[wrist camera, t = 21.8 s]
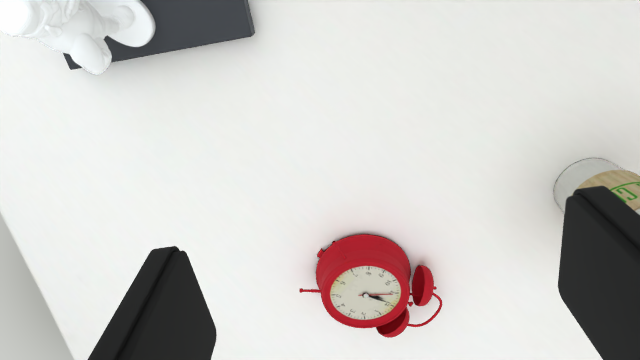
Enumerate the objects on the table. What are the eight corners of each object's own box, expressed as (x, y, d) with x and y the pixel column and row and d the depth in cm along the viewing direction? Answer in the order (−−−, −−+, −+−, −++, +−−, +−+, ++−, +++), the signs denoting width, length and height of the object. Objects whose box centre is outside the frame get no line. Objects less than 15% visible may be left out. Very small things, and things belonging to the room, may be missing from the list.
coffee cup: (623, 121, 41) (767, 204, 28) (648, 200, 45) (785, 305, 31) (520, 171, 43) (607, 269, 30) (553, 241, 47) (642, 356, 34)
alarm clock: (337, 232, 42) (469, 314, 43) (347, 206, 48) (463, 278, 48) (288, 303, 47) (408, 377, 47) (302, 271, 52) (409, 337, 53)
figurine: (175, -1, 35) (109, 20, 24) (135, 64, 37) (60, 109, 27) (67, -86, 32) (-61, -104, 22) (32, -10, 35) (-99, 7, 24)
